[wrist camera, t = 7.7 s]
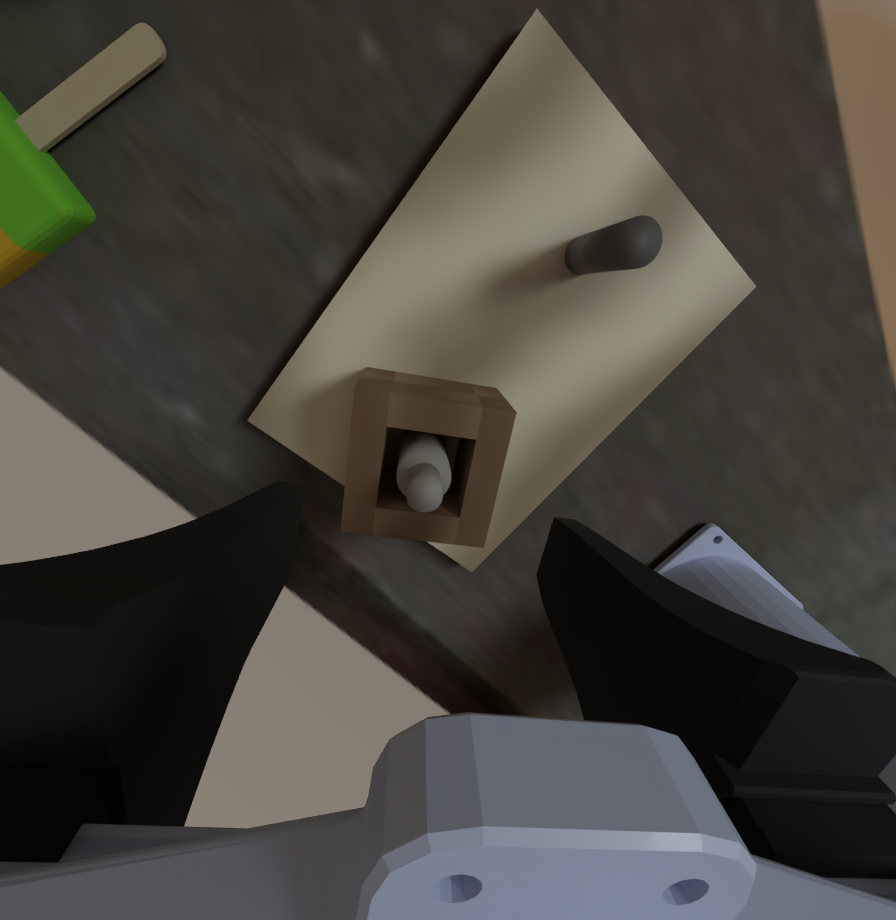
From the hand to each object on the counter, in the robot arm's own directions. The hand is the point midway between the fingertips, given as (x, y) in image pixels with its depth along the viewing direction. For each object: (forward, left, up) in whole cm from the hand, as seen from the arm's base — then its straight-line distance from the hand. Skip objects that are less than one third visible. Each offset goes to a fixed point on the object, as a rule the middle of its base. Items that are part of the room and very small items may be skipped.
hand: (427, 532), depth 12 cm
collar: (0, 0, -8) cm, 8 cm away
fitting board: (0, -5, -9) cm, 10 cm away
